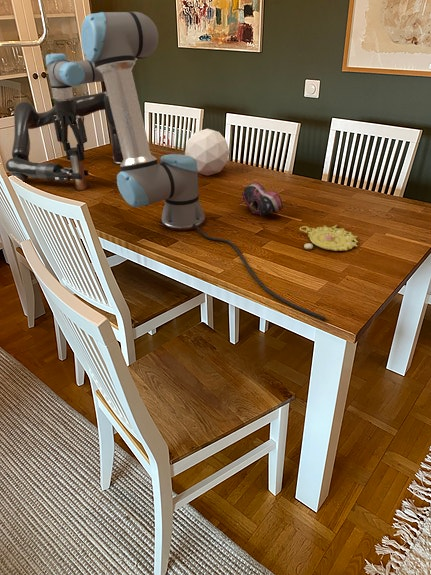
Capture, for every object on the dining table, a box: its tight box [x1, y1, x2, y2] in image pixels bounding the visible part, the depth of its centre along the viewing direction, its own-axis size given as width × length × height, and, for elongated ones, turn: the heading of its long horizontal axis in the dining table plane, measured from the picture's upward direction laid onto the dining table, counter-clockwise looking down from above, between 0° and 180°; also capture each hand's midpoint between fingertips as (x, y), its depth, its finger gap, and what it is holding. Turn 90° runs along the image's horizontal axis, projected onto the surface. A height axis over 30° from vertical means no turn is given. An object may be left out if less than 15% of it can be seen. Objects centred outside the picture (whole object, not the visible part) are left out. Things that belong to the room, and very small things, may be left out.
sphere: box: [184, 128, 231, 177], centre depth 195 cm, size 19×20×20 cm
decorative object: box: [299, 224, 359, 252], centre depth 141 cm, size 21×2×20 cm
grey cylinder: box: [69, 155, 88, 191], centre depth 184 cm, size 4×4×16 cm
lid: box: [68, 146, 78, 155], centre depth 180 cm, size 5×5×2 cm
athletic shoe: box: [238, 182, 284, 217], centre depth 160 cm, size 11×22×12 cm
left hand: (84, 175), depth 185 cm, fingers closed on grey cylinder, 4 cm apart
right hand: (76, 159), depth 182 cm, fingers closed on lid, 5 cm apart
